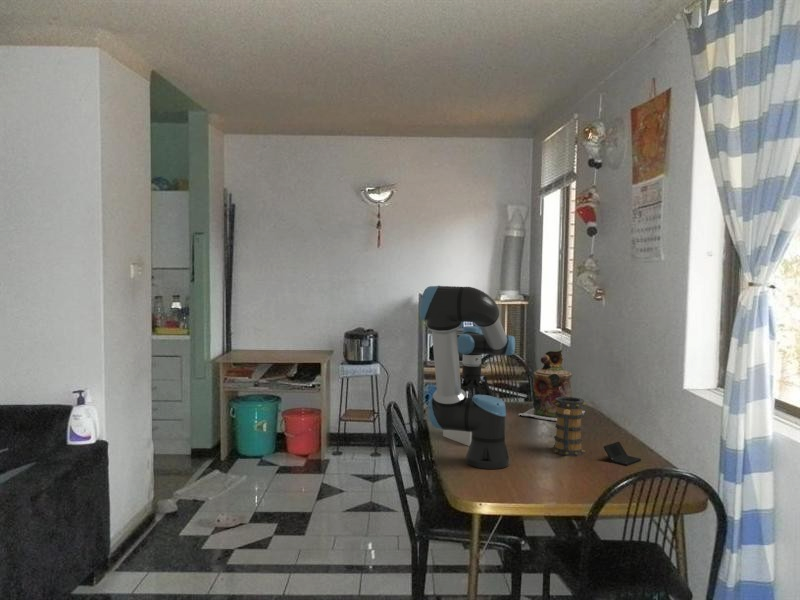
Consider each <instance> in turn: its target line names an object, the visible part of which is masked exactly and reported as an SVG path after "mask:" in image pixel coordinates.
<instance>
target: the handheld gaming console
mask: <svg viewBox="0 0 800 600" xmlns="http://www.w3.org/2000/svg"><path fill="white" fill-rule="evenodd" d="M603 449H604V451H605V452H606V455H608V456H607V457H609V459H610V463H612V464H615V465H619V466H623V467H629V466H631V465H634V464H637V463H639V462H641V461H642V458H640V457H635V456H630V455H628V454H627V452H626V451H625V449H624V448H623V445H622V444H621V442H620V441H616V442H612V443H610V444H606V445H604V446H603Z"/></svg>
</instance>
